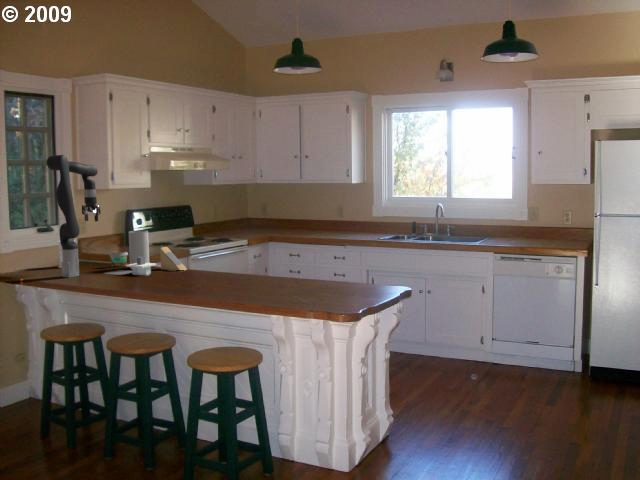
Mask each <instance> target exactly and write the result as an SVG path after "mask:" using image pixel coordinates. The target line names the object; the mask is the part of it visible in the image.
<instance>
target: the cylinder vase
mask: <svg viewBox="0 0 640 480" xmlns="http://www.w3.org/2000/svg"><path fill="white" fill-rule="evenodd" d="M128 245H129V246H128V249H129V250H128V251H129V253H128V254H129V264H134V263H137V257H145V263H150V246H149V245H150V244H149V231H148V230H131V231H128ZM129 269H130V270H132V267H129Z"/></svg>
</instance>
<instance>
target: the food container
mask: <svg viewBox="0 0 640 480" xmlns="http://www.w3.org/2000/svg"><path fill="white" fill-rule="evenodd" d="M108 255H109V257H110V261H111V267H112V268H118V267H119V268H120V267H126V265H127V262H128V260H127V259H128V255H129V253H128V251H125V252H109V254H108Z"/></svg>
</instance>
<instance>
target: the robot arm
mask: <svg viewBox="0 0 640 480" xmlns="http://www.w3.org/2000/svg"><path fill="white" fill-rule="evenodd" d="M68 159H69V158H68V157H67V156H66V155H65V154H56V155H50V156H48V157H47V159H46V166H47V167H48V169H49V170H51V171H55V172H56V171H57V172H58V171H59V176H60V178H59V181H58V185H57V187H56V190H55V196H56V200H57V201H56V202H57V204H58V207H59V209H60V211H61V212H62V214H63V216H64V218H65V222H64V223H62V224H61V225H60V227H59V233H58V234H59V241H60V243H61V246H62V256H63V262H62V268H61V276H62V278H76V277H77V278H78V277H79V276H80V264H79V261H80V260H79V244H77V242H76V240H75V241H74V239H76V238H78V237H79V235H80V225H79V222H78V219H77V215H76V209H75V204H74V197H73V196H74V195H73V191H72V186H71V178H70V173H73V174H76V175H80V176H81V178H82V182H83V190H84V191H83V197H84V199H83V200H84V204H82V205H81V214H82V215H84V221H85V222H88V221H89V214H90V213H92V214H93V215H94V222H99V216H100V215H101V213H102V212H101V205H97V203H98V200H97V190H96V187H97V186H96V181H95V180H93V179H91V178H90V177H96V176H97V174H98V173H99V172H98V168H97V167H96V166H95V165H92V164H85V163H81V162H76V161H69V160H68Z"/></svg>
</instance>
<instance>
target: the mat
mask: <svg viewBox="0 0 640 480" xmlns="http://www.w3.org/2000/svg"><path fill="white" fill-rule="evenodd" d="M102 274H103V275H104V274H105V275H116V276H118V275H119V276H123V275H127V274H128V275H129V274H132V270H129V269H125V270H124V269H117V270H113V271H107V272H103V273H102Z"/></svg>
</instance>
